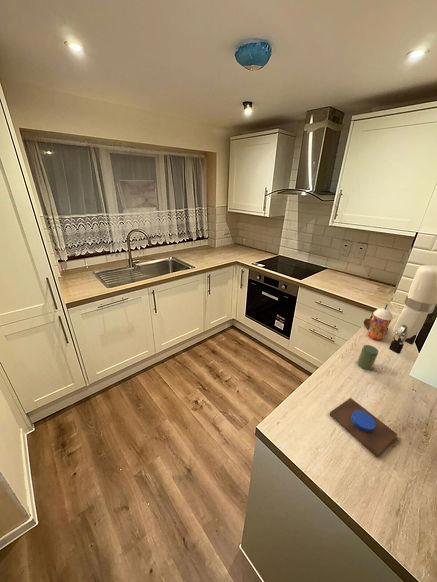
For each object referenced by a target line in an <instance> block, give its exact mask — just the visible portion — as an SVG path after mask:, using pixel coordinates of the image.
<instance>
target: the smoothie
mask: <svg viewBox="0 0 437 582" xmlns="http://www.w3.org/2000/svg"><path fill="white" fill-rule="evenodd" d="M387 308H388V303H386V304H385V306H384V307H380V308H378V309H376V310H374V311H373V313H372V315H371V316H372V320H371V323H370V327H369V329H368V331H367V334H368V337H369V338H370V339H371V340H375V341H381V339H383V338H384V336H385V334H386V332H387V331H386V330H387V328H388V329H389V326H390V324H391V322H392V321H393V318H394V317H393V314H392V312H391V310H389V309H387Z"/></svg>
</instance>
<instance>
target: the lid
mask: <svg viewBox="0 0 437 582" xmlns="http://www.w3.org/2000/svg"><path fill="white" fill-rule="evenodd" d="M351 420H352V422H353V424H354V425H355V426H356V427H357V428H358V429H360V430H362V431H364V432H372V431H374V429H375V427H376V423H375V420H374V419H373V418H372V417H371V416H370V415H369V414H368V413H366V412H364V411H360V410H356V411H354V412H353V414H352V416H351Z"/></svg>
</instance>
